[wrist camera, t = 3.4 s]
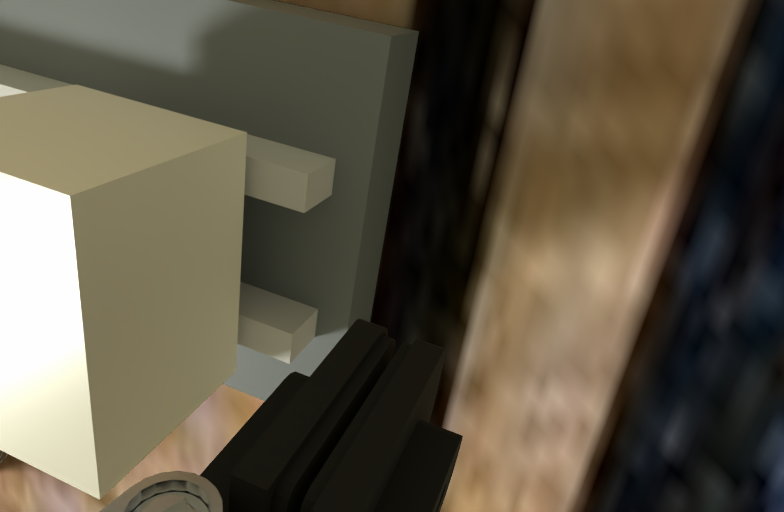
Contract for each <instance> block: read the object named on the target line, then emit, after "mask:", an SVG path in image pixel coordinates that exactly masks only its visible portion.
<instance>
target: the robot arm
mask: <svg viewBox="0 0 784 512" xmlns="http://www.w3.org/2000/svg"><path fill="white" fill-rule="evenodd" d="M395 345H396V340H395V339H393V338H390V337H388V329H387V328H385V327H383V326H380V325H377V324H374V323H371V322H368V321H365V320H363V319H357V320H356V321H355V322H354V323H353V325H352V326H351V327H350V328H349V329H348V331H347V332H346V333H345V334H344V336H343V337H342V338H341V339H340V340H339V342H338V343H337V344H336V345H335V346H334V348H333V349H332V350H331V351H330V353H329V354H328V355H327V356H326V357H325V359H324V360H323V361H322V362H321V364H320V365H319V366H318V367H317V368H316V370H315V371H314V372H313V373H312V375H311V376H310V377H309V376H306V375H303V374H301V373H298V372H296V371H295V372H292V373H290V374H289V375H288V376H287V377H286V378H285V379H284V380H283V381H282V382H281V384H280V385H279V386H278V387H277V388H276V389H275V390H274V392H273V393H272V394H271V395H270V396H269V397H268V398H267V400H266V401H265V402H264V403H263V404H262V405H261V406H260V408H259V409H258V410H257V411H256V412H255V413H254V414H253V415H252V417H251V418H250V419H249V420H248V421H247V422H246V423H245V425H244V426H243V427H242V428H241V429H240V430H239V431H238V433H237V434H236V435H235V436H234V437H233V438H232V439H231V441H230V442H229V443H228V444H227V445H226V446H225V447H224V449H223V450H222V451H221V452H220V453H219V454H218V455H217V456H216V458H215V459H214V460H213V461H212V462H211V463H210V464H209V466H208V467H207V468H206V469H205V470H204V471H203V472H202V474H201V475H200V476H199V475H197V474H195V473H190V472H183V471H173V472H163V473H159V474H156V475H153V476H150V477H147V478H145V479H143V480H142V481H140V482H138V483H137V484H135V485H133V486H132V487H130V488H129V489H128V490H126V491H125V492H124V493H123V494H121V495H120V496H119V497H118V498H116V499H115V500H114V501H113V502H111V503H110V504H109V505H107V506H106V507H105V508H104V509H102V510H101V511H100V512H440V509H441V506H442V504H443V501H444V498H445V495H446V492H447V489H448V486H449V483H450V480H451V476H452V473H453V470H454V466H455V463H456V459H457V456H458V452H459V449H460V445H461V441H462V437H463V436H461V435H459V434H456V433H454V432H451V431H449V430H446V429H443V428H441V427H438V426H436V425H433V424H430V423H429V421H430V417H431V413H432V409H433V405H434V401H435V397H436V393H437V389H438V384H439V380H440V376H441V372H442V368H443V364H444V360H445V355H446V349H445V348H443V347H440V346H437V345H434V344H431V343H428V342H425V341H423V340H420V339H416V340H415V342H414V343H413V345H409V344H407V343H402V344H401V346H400V347H399V349H398V350H397V352H396V354H395V355H394V350H395ZM393 356H394V357H393Z"/></svg>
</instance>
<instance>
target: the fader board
mask: <svg viewBox="0 0 784 512" xmlns="http://www.w3.org/2000/svg"><path fill="white" fill-rule="evenodd" d="M418 34H419V31H416V30H411V29H406V28H402V27H397V26H392V25H388V24H383V23H378V22H374V21H369V20H364V19H359V18H355V17H350V16H345V15H341V14H336V13H331V12H327V11H322V10H317V9H313V8H308V7H303V6H299V5H294V4H289V3H284V2H280V1H275V0H0V97H2V96H9V95H15V94H21V93H27V92H33V91H39V90H45V89H51V88H57V87H64V86H70V85H76V84H77V85H80V86H84V87H88V88H91V89H95V90H98V91H102V92H105V93H109V94H112V95H116V96H120V97H123V98H127V99H130V100H134V101H137V102H141V103H144V104H148V105H152V106H155V107H159V108H162V109H166V110H169V111H173V112H177V113H180V114H184V115H187V116H191V117H194V118H198V119H201V120H205V121H209V122H212V123H216V124H219V125H223V126H226V127H230V128H233V129H237V130H241V131H244V132H247V146H246V168H245V189H244V211H243V232H242V254H241V276H240V297H239V319H238V340H237V362H236V372H235V373H234V374H233V375H231V376H230V377H229V378H228V379H227V380H226V381H225V382H224V383H223V384H224V385H227V386H229V387H232V388H234V389H237V390H239V391H242V392H244V393H246V394H249V395H251V396H254V397H256V398H259V399H261V400H264V401H266V400H267V398H268V397H269V396H270V395H271V394H272V393H273V392H274V390H275V389H276V388H277V387H278V386H279V385H280V384H281V382H282V381H283V380H284V379H285V378H286V377H287V376H288V375H289V374H290V373H292V372H295V371H296V372H298V373H301V374H303V375H306V376H309V377H310V376H311V375H312V373H313V372H314V371H315V370H316V368H317V367H318V366H319V365H320V364H321V362H322V361H323V360H324V359H325V357H326V356H327V355H328V354H329V353H330V351H331V350H332V349H333V348H334V346H335V345H336V344H337V343H338V342H339V340H340V339H341V338H342V337H343V336H344V334H345V333H346V332H347V331H348V329H349V328H350V327H351V326H352V325H353V323H354V322H355V321H356V320H357V319H363V320H365V321H368V322H370V319H371V313H372V307H373V301H374V295H375V289H376V283H377V277H378V271H379V266H380V260H381V254H382V248H383V242H384V236H385V230H386V224H387V218H388V212H389V206H390V200H391V194H392V189H393V183H394V177H395V171H396V165H397V159H398V153H399V147H400V141H401V135H402V129H403V123H404V117H405V111H406V106H407V100H408V94H409V88H410V82H411V76H412V70H413V64H414V58H415V52H416V46H417V40H418Z"/></svg>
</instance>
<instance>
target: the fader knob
mask: <svg viewBox="0 0 784 512" xmlns="http://www.w3.org/2000/svg"><path fill="white" fill-rule="evenodd" d="M246 146H247V132H244V131H241V130H237V129H233V128H230V127H226V126H223V125H219V124H216V123H212V122H209V121H205V120H201V119H198V118H194V117H191V116H187V115H184V114H180V113H177V112H173V111H169V110H166V109H162V108H159V107H155V106H152V105H148V104H144V103H141V102H137V101H134V100H130V99H127V98H123V97H120V96H116V95H112V94H109V93H105V92H102V91H98V90H95V89H91V88H88V87H84V86H80V85H77V84H76V85H70V86H64V87H57V88H51V89H45V90H39V91H33V92H27V93H21V94H15V95H9V96H2V97H0V450H1V451H3V452H5V453H7V454H9V455H11V456H13V457H15V458H17V459H19V460H21V461H23V462H25V463H27V464H29V465H31V466H33V467H35V468H37V469H39V470H41V471H43V472H45V473H47V474H49V475H51V476H53V477H55V478H57V479H59V480H61V481H64V482H66V483H68V484H70V485H72V486H74V487H76V488H78V489H80V490H82V491H84V492H86V493H88V494H90V495H92V496H94V497H96V498H98V499H101V498H102V497H103V496H104V495H105V494H107V493H108V492H109V491H110V490H111V489H112V488H113V487H114V486H115V485H116V484H117V483H118V482H119V481H120V480H121V479H122V478H123V477H125V476H126V475H127V474H128V473H129V472H130V471H131V470H132V469H133V468H134V467H135V466H136V465H137V464H138V463H139V462H140V461H141V460H143V459H144V458H145V457H146V456H147V455H148V454H149V453H150V452H151V451H152V450H153V449H154V448H155V447H156V446H157V445H158V444H159V443H161V442H162V441H163V440H164V439H165V438H166V437H167V436H168V435H169V434H170V433H171V432H172V431H173V430H174V429H175V428H176V427H177V426H179V425H180V424H181V423H182V422H183V421H184V420H185V419H186V418H187V417H188V416H189V415H190V414H191V413H192V412H193V411H194V410H195V409H197V408H198V407H199V406H200V405H201V404H202V403H203V402H204V401H205V400H206V399H207V398H208V397H209V396H210V395H211V394H212V393H213V392H215V391H216V390H217V389H218V388H219V387H220V386H221V385H222V384H223V383H224V382H225V381H226V380H227V379H228V378H229V377H230V376H231V375H233V374H234V373H235V372H236V362H237V340H238V319H239V297H240V276H241V254H242V232H243V211H244V189H245V168H246Z"/></svg>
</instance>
